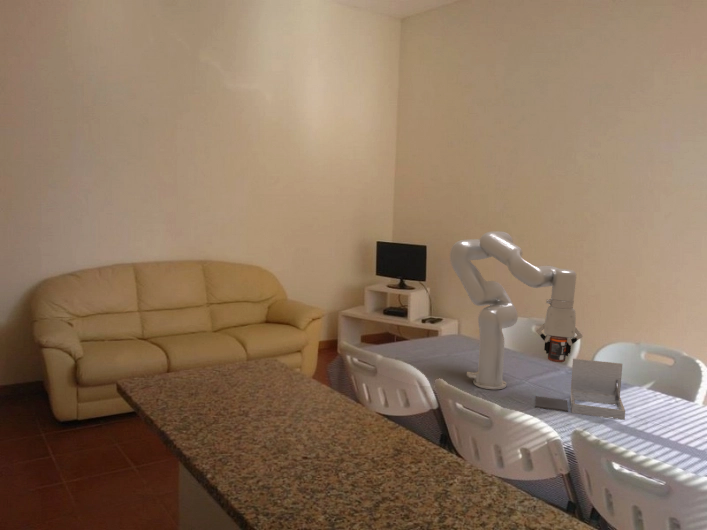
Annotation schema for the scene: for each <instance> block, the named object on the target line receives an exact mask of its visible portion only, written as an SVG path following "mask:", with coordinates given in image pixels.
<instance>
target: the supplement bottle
mask: <svg viewBox="0 0 707 530" xmlns="http://www.w3.org/2000/svg"><path fill="white" fill-rule="evenodd" d="M567 342H568V340H567V338H563V337H555V336H551V337H550V339H549V351H548V354H547V360H549V361H550V362H554V363H564V362H566V357H567V356H566V348H567Z"/></svg>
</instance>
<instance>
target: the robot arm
mask: <svg viewBox="0 0 707 530" xmlns="http://www.w3.org/2000/svg"><path fill="white" fill-rule="evenodd" d="M513 240H514V239H513V237H512V236H511V235H510V233H508V232H505V231H497V230H496V231H487V232H485V233H483V234H482V235H481V236H480V238H477V239H474V238H472V239H471V238H470V239H461V240H458V241H456V242H455V243H454V244H453V245H452V246H451V249H450V251H449V262H450V265H451V267H452V269H453V271H454V272H455V274H456V276H457V278H458V279H459V281H460V282H461V284H462V286H463V288H464V289H465V292H466V293H467V296H468V297H469V299H470V301H471V303H473V304H474V305H475V306H477V307H484V306H486V307H484V308H482V309H481V310H480V312H479V314H478V316H477V317H478V318H477V322H478V328H479V330H478V331H479V343H478V344H479V346H478V365H477V367H478V368H477V371H475V372H472V371H466V377H468V378H469V379H474V380H473V385H475V386H476V387H478V388H480V389H484V390H494V391H495V390H502V389H503V390H504V389H505V388H506V387H507V382H506V381H505V380H503V379H504V378H503V376H504V375H503V374H504V359H505V358H504V357H505V355H504V354H505V337H504V333H503V329H507V328H511V327H513V326H514V325H516V323H517V322H518V319H519V318H518V317H519V315H518V311H517V308H516V306H515V305H514V303H513V301H512V299H511V297H510V295H509V294H508V292H507V291H506V289H505V288H504V286H503V285H502V284H501V283H500V282H498V281H496V280H486V279H485V278H484V276H483V275H482V272H481V271H480V270H479V269H478V267H477V266H476V265H475V264H474V263H472V261H480V260H485V259H489V258H494V259H495V260H497V261H499V262H500V263H502V264H503V265H505V266H506V267H507V268H508V271H509V272H510V273H511V275H512V276H513V277H514V278H515V279H517V280H518V281H520V282H521V283H523V284H525V285H526V286H528V287H530V288H534V289H538V288H546V287H547V288H549V287H551V295H550V298H549V299H546V303H545V304H548V306H547V309H546V313H545V319H544V323H543V324H541V325H540V326H539V327H538V328H536V330H535V332H536V333H537V335H538V336H539V337H540V338H541V339H542V340H543V342H544V349H543V351H545V354H547V355H548V351H549V339H550V337H551V336H555V337H563V338H567V348H566V357H569V354H571V350H572V345H574V344H575V343H576V342H578V341H579V340H580V339H582V337H583V334H582V332H580V331H579V329H578V328H577V327H576V325H577V324H576V320H577V319H576V317H577V316H576V315H577V313H576V309H575V308H574V302H575V292H576V283H577V273H576V271H575V270H574V269H568V268H559V267H556V266H553V265H539V266H536V265H534V264H532V263H530V262H528V261H527V260H525V259H524V258H523V249H522V248H521V247H520V246H519V245H517V244H516V243H514V241H513ZM549 305H550V306H549ZM543 331H544V333H543ZM575 335H576V336H575Z"/></svg>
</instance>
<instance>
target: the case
mask: <svg viewBox="0 0 707 530" xmlns="http://www.w3.org/2000/svg"><path fill="white" fill-rule="evenodd" d="M571 369H572V370H571V382H570V398H569V399H570V400H569V401H570V407H571V413H573V414H580V415H586V416H587V415H588V416H595V417H600V416H603V417H602V418H608V417H613V418H612V419H615V418H618V419H617V420H624V421H625V419H626V410H625V406H624V403H623V401H622V398H621V386H622V378H623V377H622V375H623V363H618V362H609V361H602V360H601V361H599V360H590V359H583V358H582V359H581V358H572V368H571ZM575 401H582V402H591V403H599V404H605V403H608V404H607V405H613V404H615V405H614V406H617V409H616V408H609V407H604V406H603V407H601V406H594V405H587V404H578V403H576V402H575Z"/></svg>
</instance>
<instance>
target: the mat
mask: <svg viewBox="0 0 707 530" xmlns="http://www.w3.org/2000/svg"><path fill="white" fill-rule="evenodd" d="M534 401H535V402H534V408H536V409H544V410H550V411H552V410H553V411H558V412H565V413H569V404H568V399H560V398H555V397H545V396H537V395H535V400H534Z"/></svg>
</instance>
